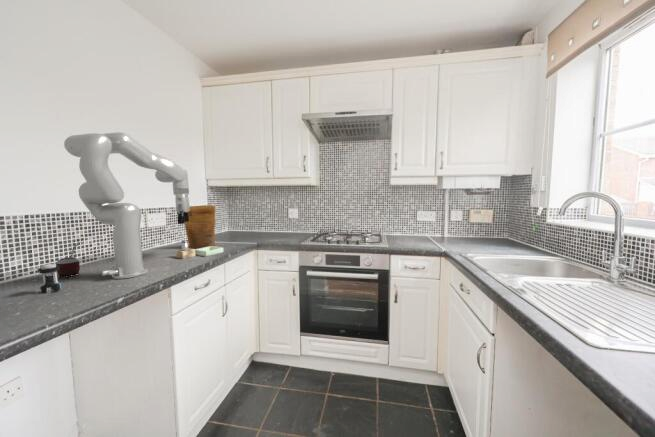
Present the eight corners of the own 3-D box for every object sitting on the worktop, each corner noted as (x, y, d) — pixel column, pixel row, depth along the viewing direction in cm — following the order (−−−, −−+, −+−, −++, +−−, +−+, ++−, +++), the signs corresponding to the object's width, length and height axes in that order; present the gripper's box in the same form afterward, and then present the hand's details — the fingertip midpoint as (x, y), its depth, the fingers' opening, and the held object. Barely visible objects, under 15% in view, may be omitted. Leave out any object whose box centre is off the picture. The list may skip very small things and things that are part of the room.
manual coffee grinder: (57, 277, 111) (53, 243, 109) (82, 272, 117) (78, 240, 115) (58, 280, 106) (54, 245, 105) (84, 275, 112) (80, 242, 111)
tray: (206, 256, 143) (206, 251, 143) (193, 254, 148) (193, 249, 148) (223, 252, 153) (223, 247, 153) (211, 250, 159) (210, 246, 158)
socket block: (183, 258, 139) (183, 251, 138) (176, 257, 142) (175, 250, 142) (195, 256, 145) (195, 249, 144) (188, 254, 148) (187, 248, 148)
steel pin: (184, 257, 141) (183, 241, 140) (181, 257, 143) (180, 240, 142) (190, 256, 144) (189, 240, 143) (186, 256, 146) (185, 239, 145)
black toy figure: (31, 295, 89) (28, 268, 89) (42, 290, 94) (38, 264, 93) (56, 292, 92) (53, 265, 91) (65, 287, 97) (62, 262, 96)
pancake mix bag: (217, 247, 168) (214, 205, 165) (184, 250, 161) (181, 206, 159) (218, 245, 174) (215, 205, 171) (187, 248, 168) (184, 206, 165)
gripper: (184, 191, 133) (187, 224, 135) (192, 191, 149) (194, 220, 151) (168, 192, 131) (171, 225, 133) (178, 192, 147) (180, 221, 149)
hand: (183, 222), depth 142 cm, fingers open, 9 cm apart
